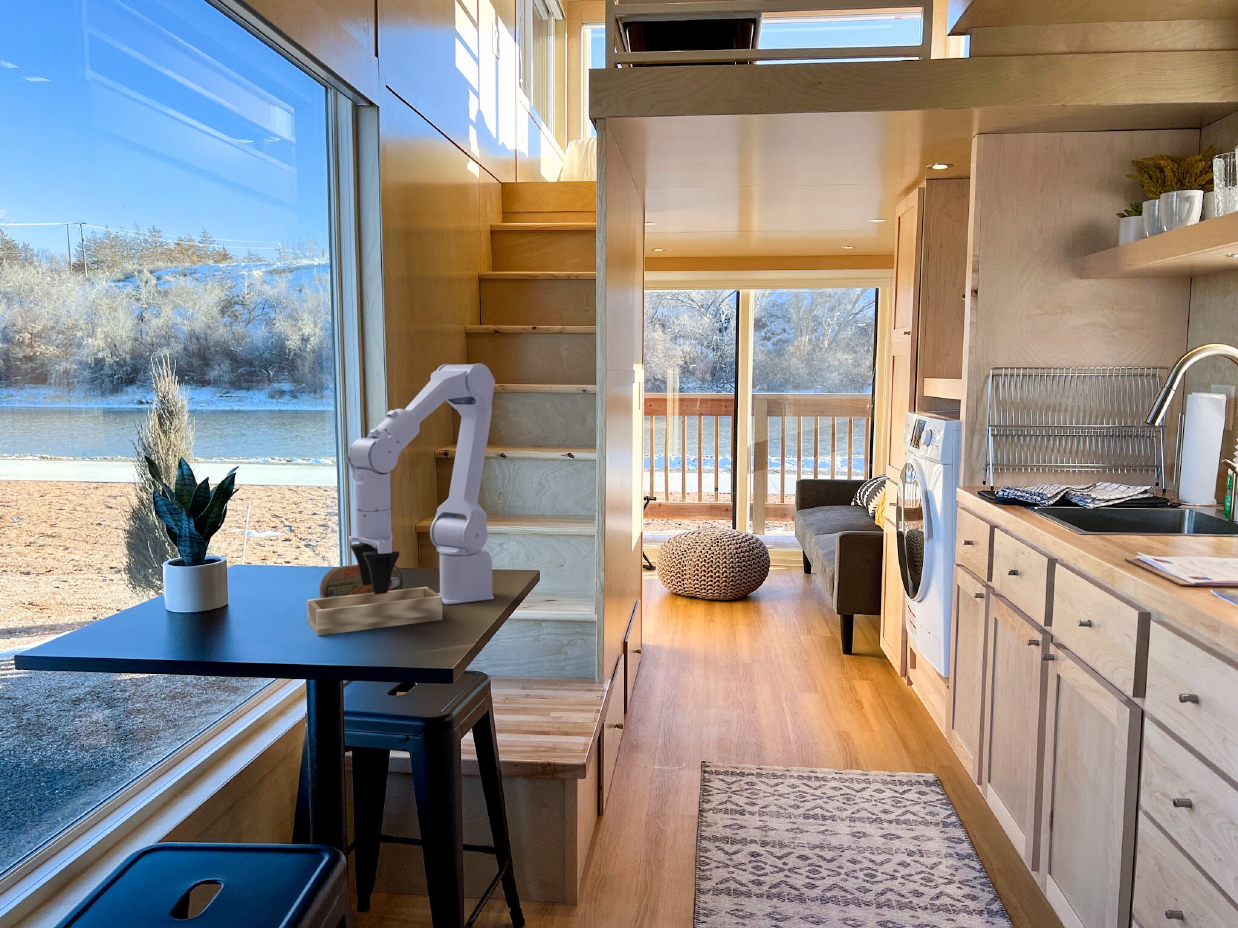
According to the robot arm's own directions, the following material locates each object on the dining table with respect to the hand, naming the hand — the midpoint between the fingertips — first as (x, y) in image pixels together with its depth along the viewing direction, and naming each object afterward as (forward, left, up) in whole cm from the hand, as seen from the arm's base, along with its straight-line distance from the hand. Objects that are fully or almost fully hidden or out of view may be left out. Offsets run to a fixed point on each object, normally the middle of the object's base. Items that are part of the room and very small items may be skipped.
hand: (375, 588), depth 151 cm
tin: (0, -10, -6) cm, 12 cm away
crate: (0, 0, -6) cm, 6 cm away
